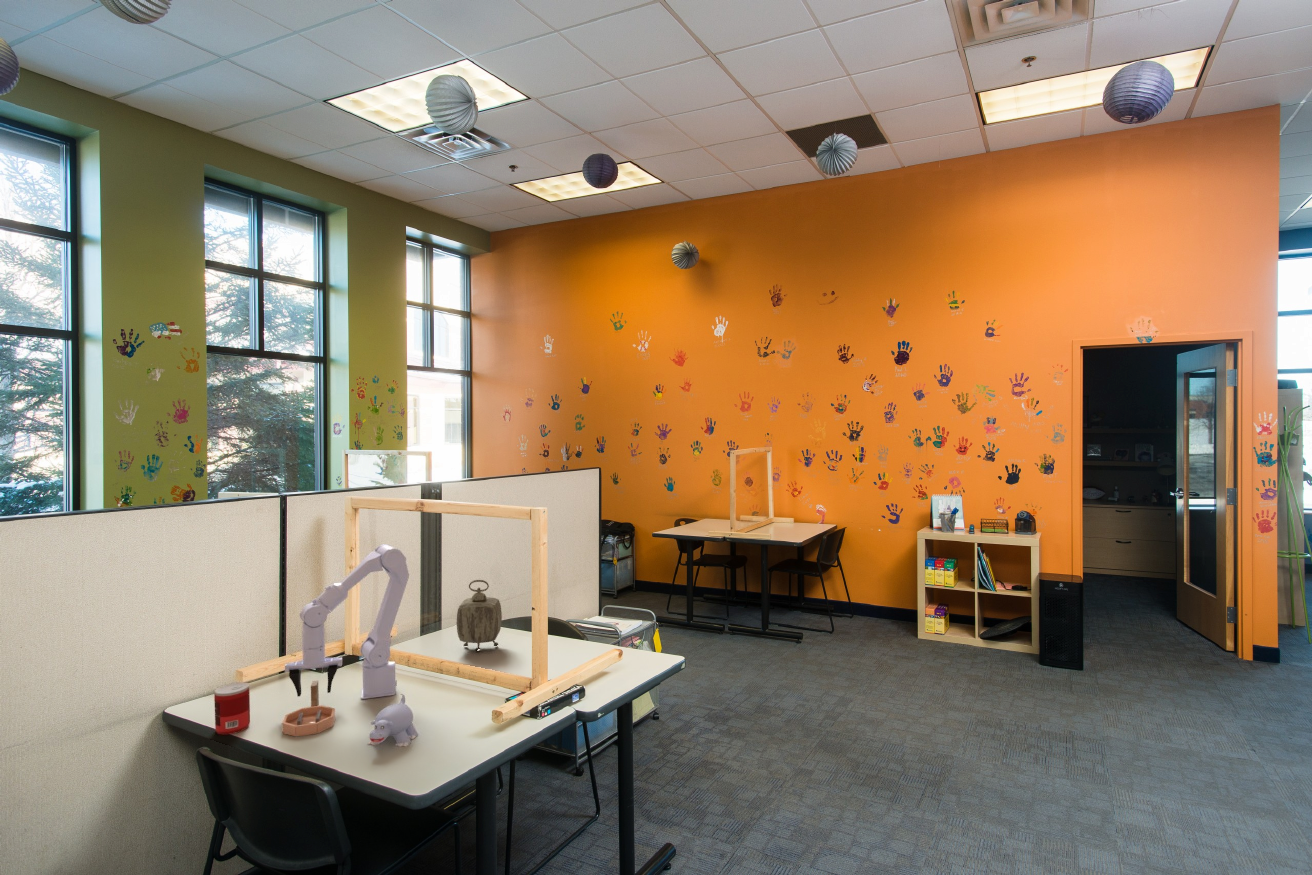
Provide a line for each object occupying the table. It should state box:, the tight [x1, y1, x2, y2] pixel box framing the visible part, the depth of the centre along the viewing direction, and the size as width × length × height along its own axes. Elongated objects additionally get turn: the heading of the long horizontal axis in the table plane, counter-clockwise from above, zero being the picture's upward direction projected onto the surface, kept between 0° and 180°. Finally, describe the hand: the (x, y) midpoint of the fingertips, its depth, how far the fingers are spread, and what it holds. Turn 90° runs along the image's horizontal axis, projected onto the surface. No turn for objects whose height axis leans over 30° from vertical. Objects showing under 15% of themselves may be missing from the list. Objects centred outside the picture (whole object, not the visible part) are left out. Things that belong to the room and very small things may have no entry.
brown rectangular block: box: [310, 680, 320, 707], centre depth 198 cm, size 2×4×7 cm, turn 20°
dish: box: [281, 705, 336, 737], centre depth 186 cm, size 12×12×3 cm
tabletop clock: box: [456, 579, 503, 650], centre depth 245 cm, size 14×9×25 cm, turn 93°
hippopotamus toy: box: [367, 693, 419, 747], centre depth 177 cm, size 11×15×10 cm
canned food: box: [213, 682, 251, 735], centre depth 185 cm, size 8×8×11 cm
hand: (314, 693), depth 198 cm, fingers open, 7 cm apart
